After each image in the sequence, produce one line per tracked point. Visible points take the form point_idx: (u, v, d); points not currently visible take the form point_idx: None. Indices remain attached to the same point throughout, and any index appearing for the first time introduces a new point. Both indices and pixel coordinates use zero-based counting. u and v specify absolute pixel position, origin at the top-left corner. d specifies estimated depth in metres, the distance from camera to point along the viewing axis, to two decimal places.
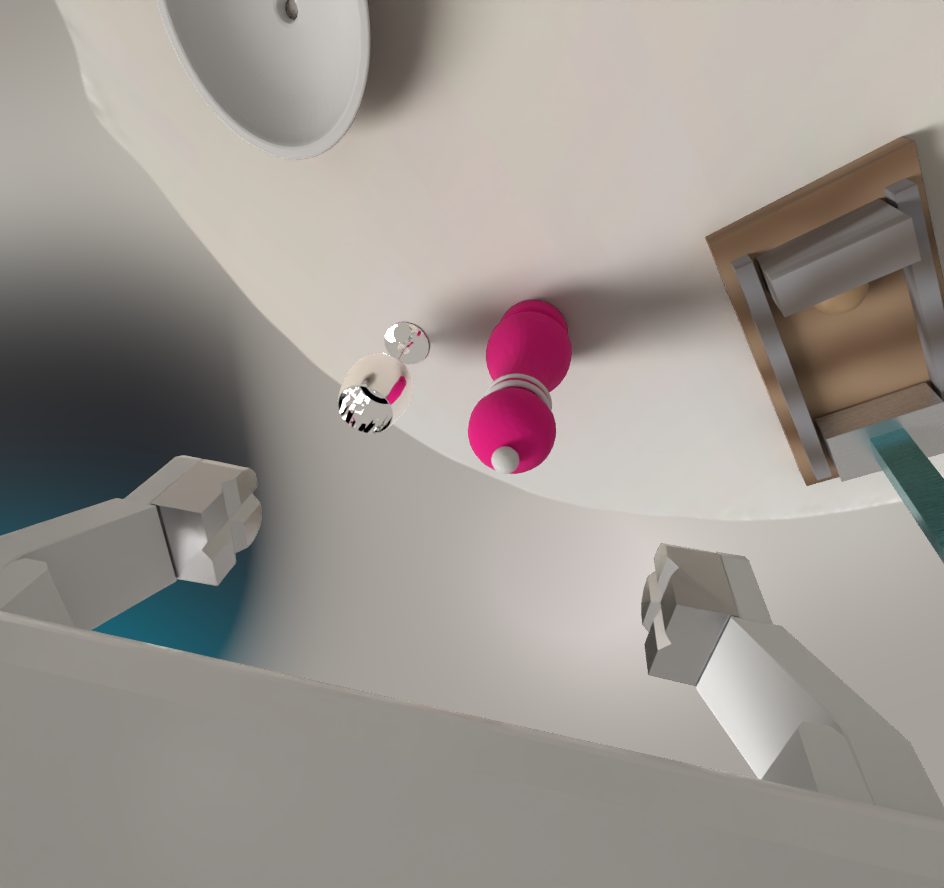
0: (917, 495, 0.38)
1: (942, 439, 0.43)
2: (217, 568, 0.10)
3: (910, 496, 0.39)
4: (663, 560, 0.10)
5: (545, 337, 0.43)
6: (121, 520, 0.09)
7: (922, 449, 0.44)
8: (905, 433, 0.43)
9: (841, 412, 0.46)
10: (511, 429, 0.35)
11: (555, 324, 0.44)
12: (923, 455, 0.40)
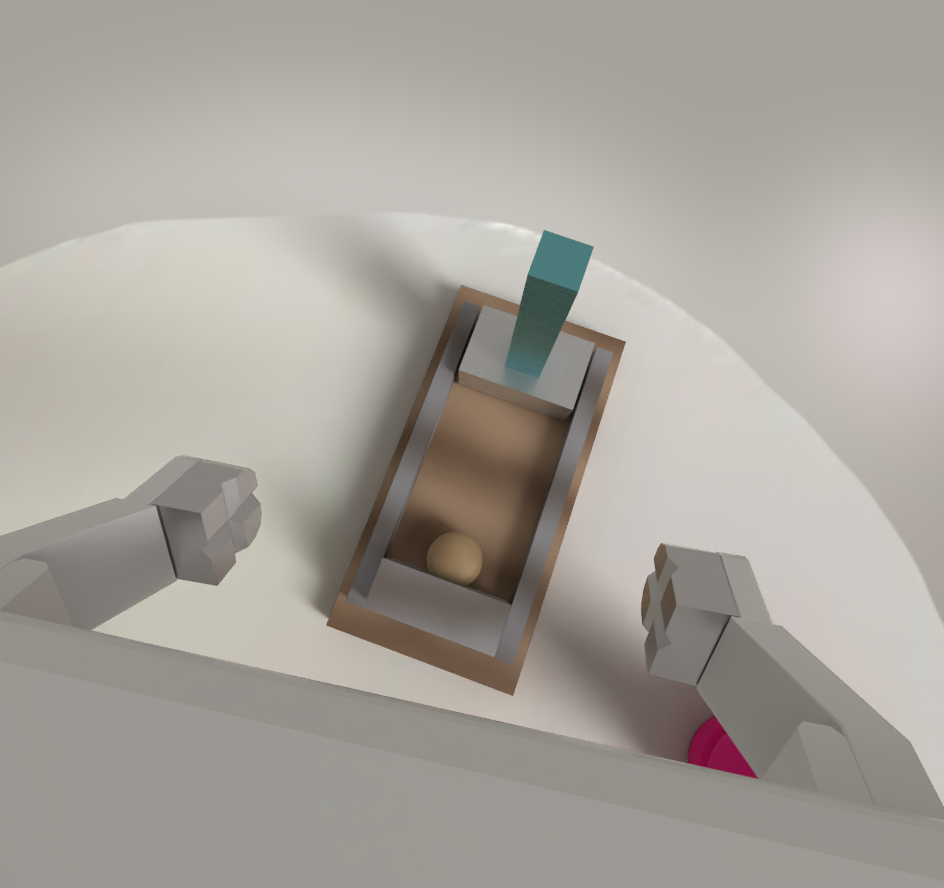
0: (549, 331, 0.29)
1: (485, 325, 0.37)
2: (217, 568, 0.10)
3: (555, 334, 0.29)
4: (663, 560, 0.10)
5: None
6: (121, 520, 0.09)
7: (506, 327, 0.37)
8: (507, 363, 0.36)
9: (538, 411, 0.39)
10: None
11: None
12: (511, 346, 0.33)
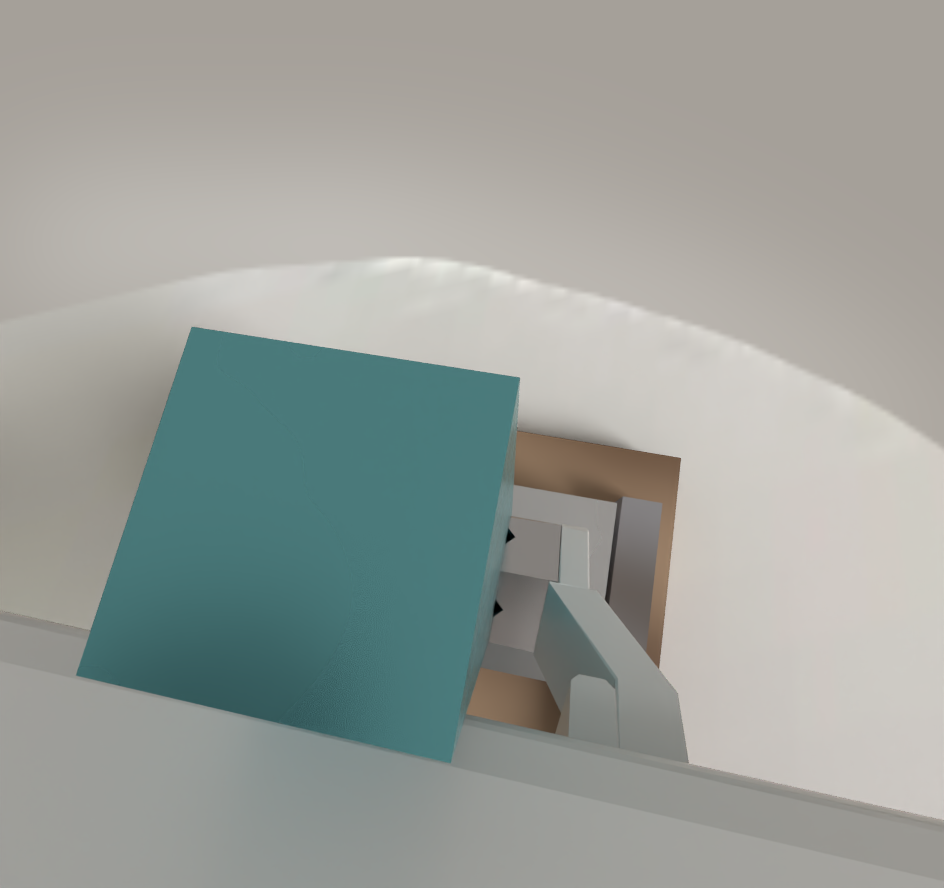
0: None
1: None
2: None
3: None
4: None
5: None
6: None
7: None
8: None
9: None
10: None
11: None
12: None
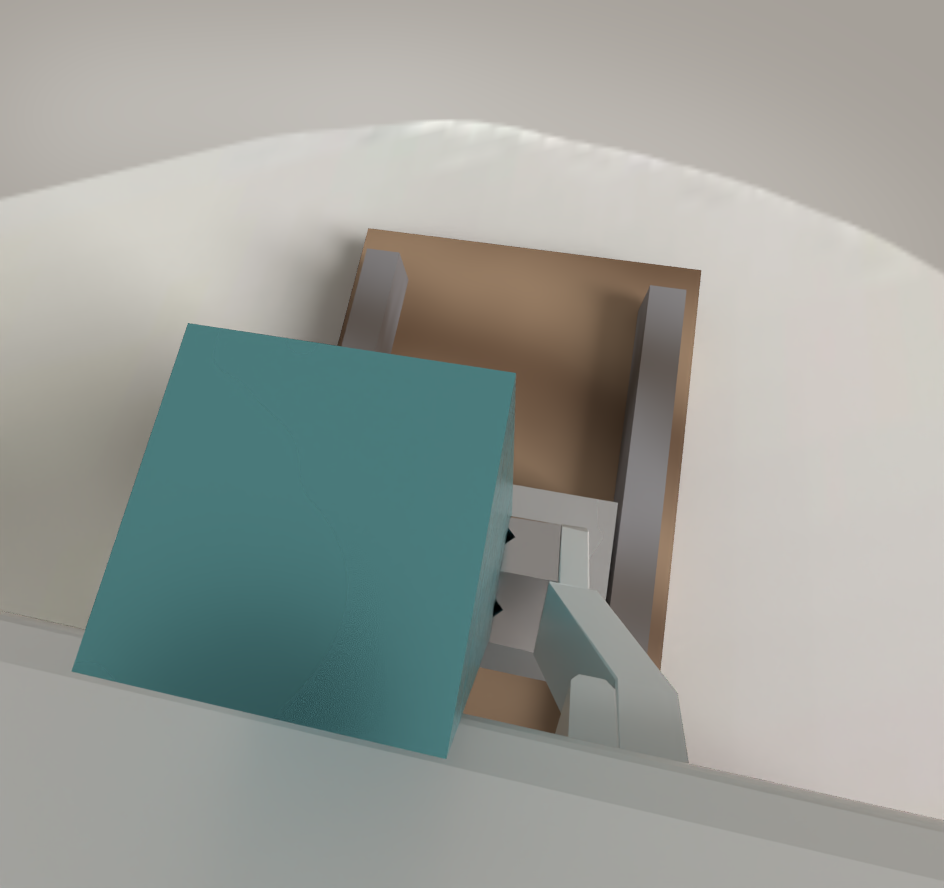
0: None
1: None
2: None
3: None
4: (507, 531, 0.10)
5: None
6: None
7: None
8: None
9: None
10: None
11: None
12: None
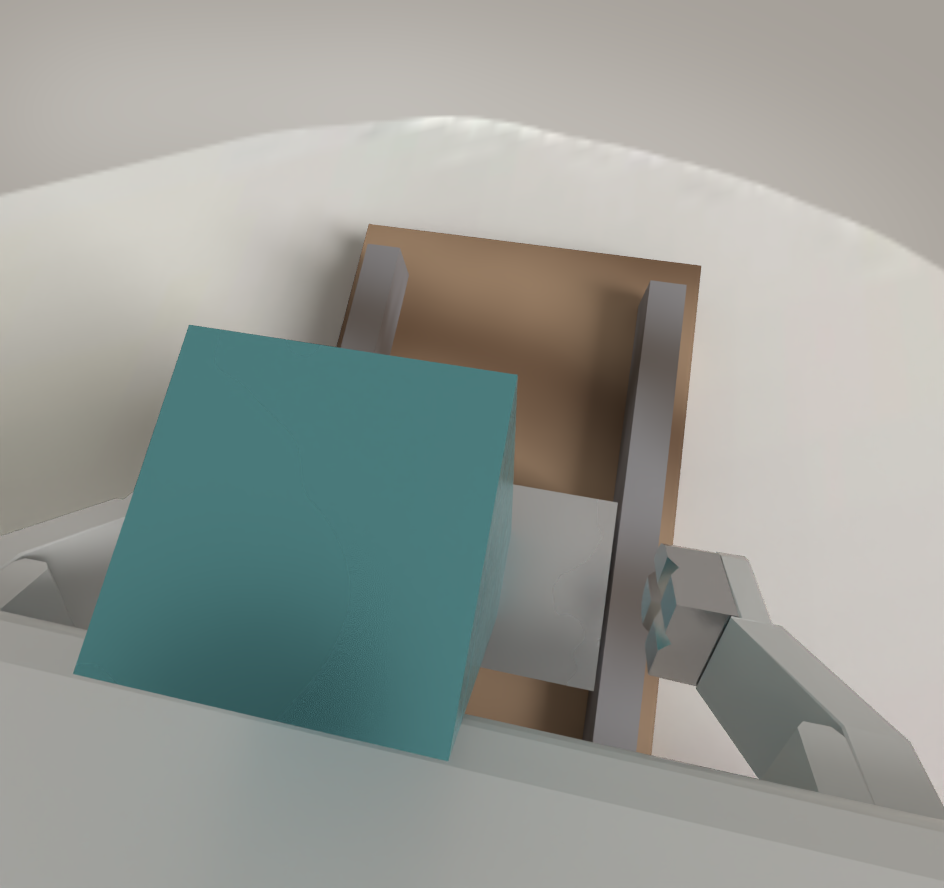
0: None
1: None
2: None
3: None
4: (663, 560, 0.10)
5: None
6: (122, 520, 0.09)
7: None
8: None
9: None
10: None
11: None
12: None
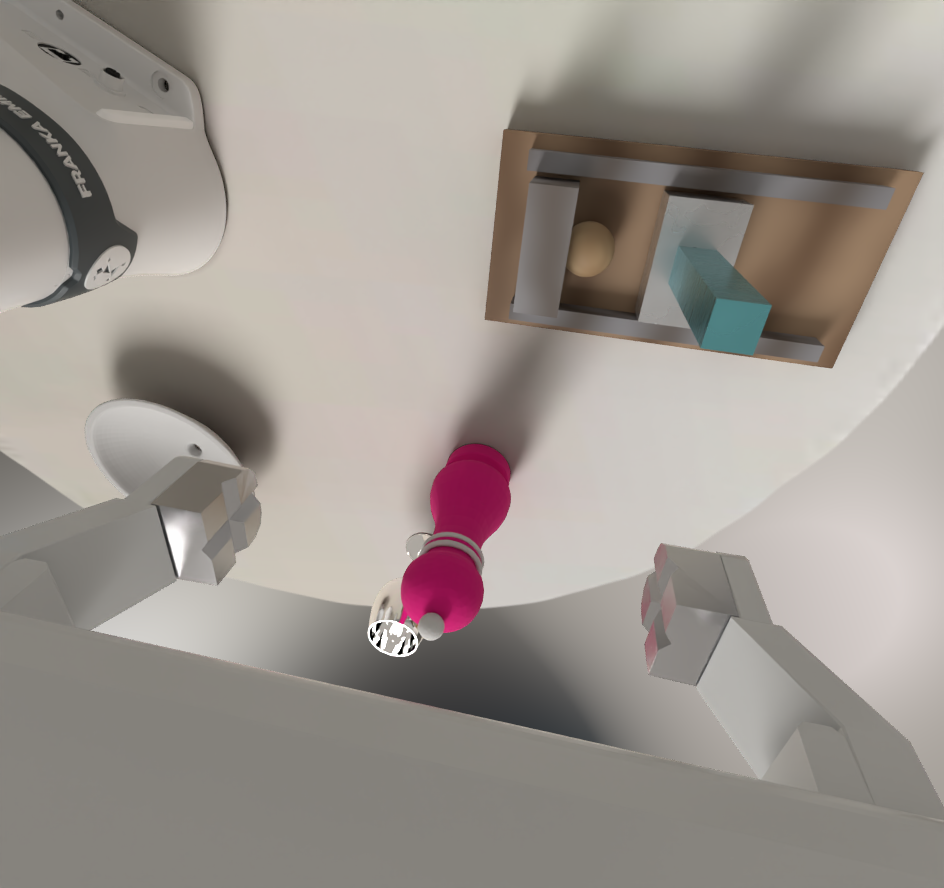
0: (687, 307, 0.30)
1: (726, 213, 0.33)
2: (217, 568, 0.10)
3: (685, 313, 0.30)
4: (663, 560, 0.10)
5: (450, 485, 0.46)
6: (122, 520, 0.09)
7: (726, 238, 0.34)
8: (679, 250, 0.34)
9: (641, 283, 0.39)
10: (417, 599, 0.37)
11: (458, 465, 0.47)
12: (686, 259, 0.32)
